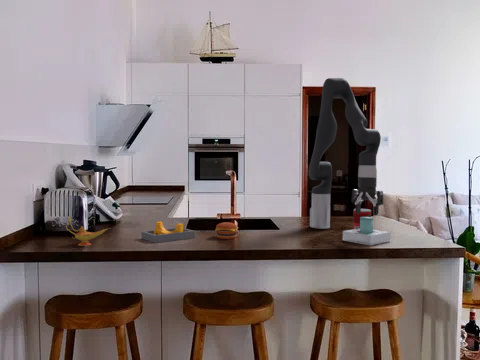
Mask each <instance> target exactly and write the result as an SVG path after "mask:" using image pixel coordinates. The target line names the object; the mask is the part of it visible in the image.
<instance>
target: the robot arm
mask: <svg viewBox="0 0 480 360" xmlns="http://www.w3.org/2000/svg"><path fill="white" fill-rule="evenodd" d="M334 99H342V100H343V102H344V103H345V111H344V114H345V118H346V121H347V122H348V124H349V125H350V127H351V128H352V133H353V138H354V140H355V142H356V143H357V144H358V145H359V146H366V148H365V150H363V151H361V152H360V153H359V154H358V171H357V173H358V174H357V177H358V178H357V182H358V183H357V186H358V189H357V188H356V189H355V188H353V189H352V190H351V203H352V204H354V205H355V209H356V210H355V211H356V213H357V214H359V213H361V209H362V208H361V204H362V202H364V201H370V202H369V203H372V205H373V206H372V213H373V214H372V215H373V216H378V215H379V211H380V210H379V207H380V206H383V205H384V191H383V190H377V189H376V188H377V180H378V179H377V173H378V172H377V154H378V152H379V148H380V144H381V139H382V137H381V133H380V132H379V130H377V129H374V128H367V127H368V119H367V118H366V117H365V114H364V113H363V112H362V110H361V109H360V107H359V105H358V102H357V101H356V98H355V95H354V92H353V89H352V87H351V85H350V83H349V82H348V80H347V78H342V77H330V78H329V77H328V78H326V79H325V80H324V82H323V85H322V90H321V102H320V103H321V104H320V111H319V118H318V122H317V127H316V132H315V133H316V134H315V140H314V147H313V151H312V155H311V158H310V162H309V167H308V176H309V179H310V180H313V181H321V182H320V183H319V184H318V185H316V186H314V187H312V189H311V207H310V208H309V227H310V228H313V229H321V230H322V229H326V230H327V229H330V228H331V223H330V222H331V190H332V179H333V166H332V164H331V162H329V161H321V159H322V157H323V156H324V154H325V153H326V151H327V150H328V149H329V147H331V146H332V144H333V143H334V141H335V139H336V135H337V130H338V124H337V120H336V118H335V115H334V113H333V109H332V108H333V100H334Z"/></svg>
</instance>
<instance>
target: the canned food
mask: <svg viewBox="0 0 480 360" xmlns="http://www.w3.org/2000/svg"><path fill="white" fill-rule="evenodd" d="M355 210H356V208H354V209H353V213H352V215H353V216H352V217H353V218H352V221H353V222H352V223H353V224H352V230H353V229H359V228H360V217H372V210H371V209H368V208H361V213H359V214H357V213H356V211H355Z"/></svg>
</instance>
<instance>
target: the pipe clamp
mask: <svg viewBox="0 0 480 360" xmlns="http://www.w3.org/2000/svg"><path fill="white" fill-rule="evenodd" d="M163 223H164V222H163V221H157V222H155V229H153V230H154V234H155V235H160V234H169V233H177V232H183V228H184V223H177V224H176V227H174V228H175V230H174V231H173V232H169V231H167V230H166V229H167V228H165V227H164V224H163Z"/></svg>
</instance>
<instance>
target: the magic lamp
mask: <svg viewBox="0 0 480 360" xmlns="http://www.w3.org/2000/svg"><path fill="white" fill-rule="evenodd" d="M67 222H68V223H67V224H66V225H65V229H66V230H67V231H69V232H70V233H71V234H73V235H74V237H73V235H72V239H74V240H75V239H77V240H78V241H80V242H79V243H77V246H79V247H81V246H82V247H84V246H85V247H86V246H87V247H88V246H91V245H92V243H90V242H89V241H90V240H92V239H95V238H97V237H99V236H100V235H102V234H103V233H105V232H106V231H107V230H110V229H111V227H108V228H107V227H106V228H104V229H100V230H99V231H95V232H92V231H91V232H90V231H87V230H86V229H85V228H84V226H83V225H81V226H80V228H79V229H74V227H73V224H72V218H71V217H69V216H68V217H67ZM69 224H70V226H71V229H72V231H71V230H70V229H68V226H69ZM73 231H74V232H73ZM75 232H76V233H75ZM88 240H89V241H88Z"/></svg>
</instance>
